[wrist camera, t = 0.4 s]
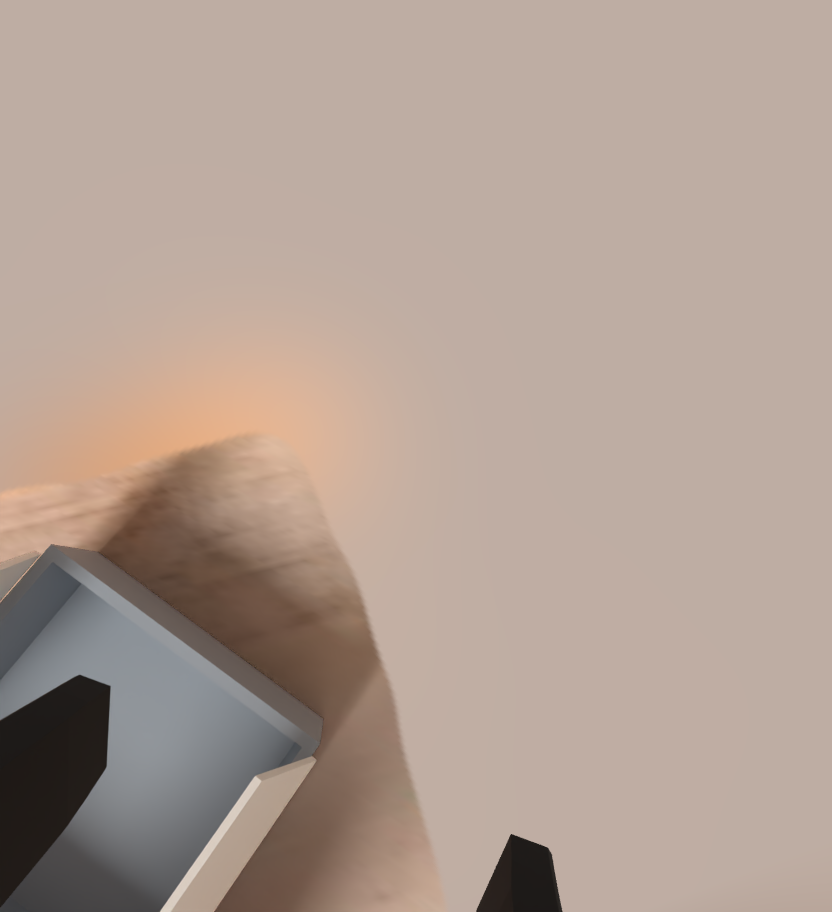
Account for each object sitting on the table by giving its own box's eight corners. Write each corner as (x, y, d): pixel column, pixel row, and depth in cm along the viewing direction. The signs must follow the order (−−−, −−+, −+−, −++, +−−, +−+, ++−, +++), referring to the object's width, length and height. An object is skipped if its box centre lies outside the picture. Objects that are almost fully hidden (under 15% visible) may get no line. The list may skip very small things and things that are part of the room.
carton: (130, 998, 32) (83, 1088, 26) (-119, 807, 32) (-219, 855, 27) (323, 718, 36) (320, 743, 30) (98, 552, 36) (51, 544, 30)
